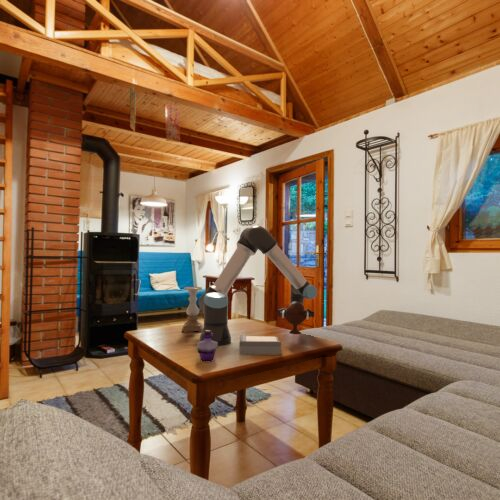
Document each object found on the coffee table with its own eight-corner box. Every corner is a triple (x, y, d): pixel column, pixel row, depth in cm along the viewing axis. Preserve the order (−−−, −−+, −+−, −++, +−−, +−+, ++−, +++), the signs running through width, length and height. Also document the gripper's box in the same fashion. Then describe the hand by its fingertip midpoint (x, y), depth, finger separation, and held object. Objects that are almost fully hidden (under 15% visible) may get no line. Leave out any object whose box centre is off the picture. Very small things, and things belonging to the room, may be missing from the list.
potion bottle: (195, 357, 145) (195, 328, 145) (215, 355, 147) (215, 327, 147) (198, 364, 136) (198, 333, 136) (219, 362, 139) (220, 332, 139)
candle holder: (183, 328, 200) (184, 286, 200) (202, 327, 201) (203, 286, 202) (181, 332, 189) (182, 288, 190) (201, 332, 191) (202, 288, 191)
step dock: (239, 354, 150) (239, 341, 150) (239, 343, 168) (239, 332, 168) (280, 354, 150) (281, 341, 150) (276, 343, 168) (277, 332, 168)
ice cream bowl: (301, 330, 177) (301, 300, 177) (309, 335, 166) (310, 304, 166) (281, 330, 175) (281, 300, 175) (288, 335, 164) (289, 304, 164)
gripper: (318, 317, 186) (319, 325, 165) (274, 314, 190) (270, 322, 168) (318, 303, 187) (320, 309, 165) (274, 301, 190) (271, 306, 169)
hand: (295, 315), depth 167 cm, fingers closed on ice cream bowl, 11 cm apart
